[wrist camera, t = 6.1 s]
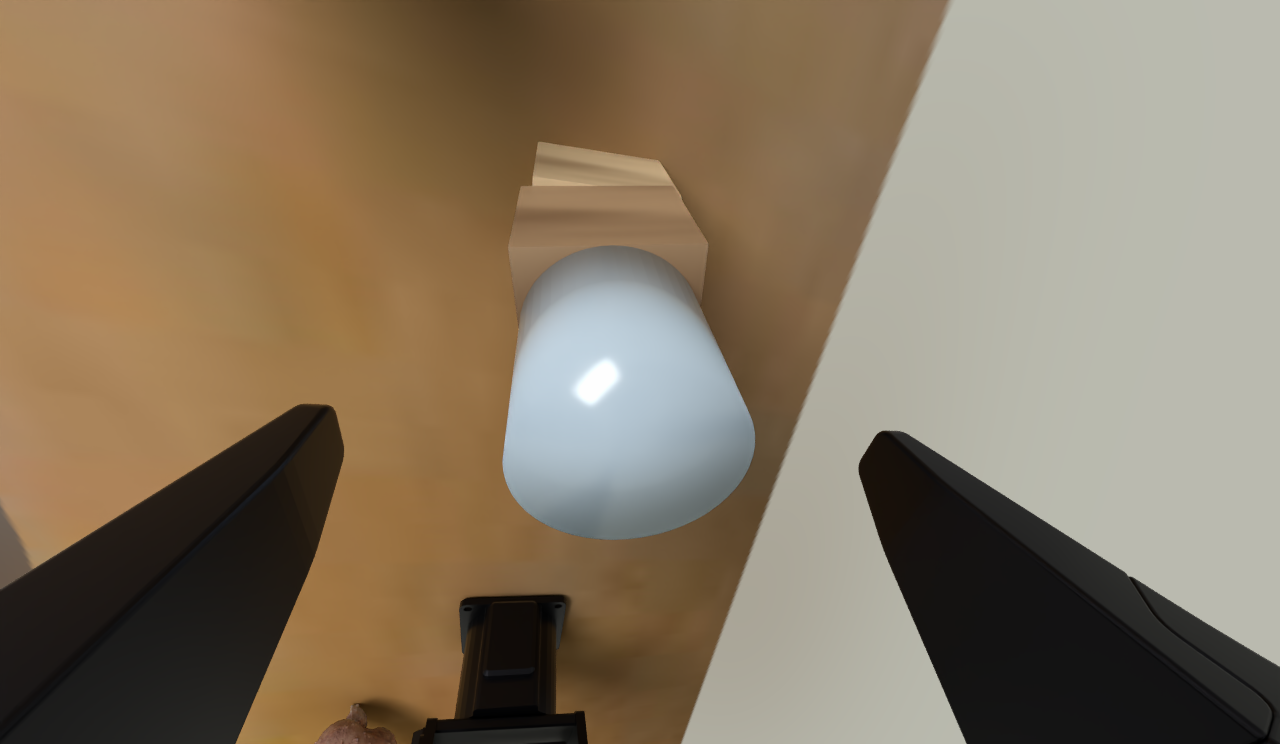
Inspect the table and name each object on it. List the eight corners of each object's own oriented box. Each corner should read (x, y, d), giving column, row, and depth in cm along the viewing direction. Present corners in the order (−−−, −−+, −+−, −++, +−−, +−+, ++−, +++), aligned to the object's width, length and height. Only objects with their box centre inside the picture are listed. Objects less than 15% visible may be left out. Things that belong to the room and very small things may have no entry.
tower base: (638, 269, 19) (654, 323, 16) (532, 257, 18) (526, 312, 15) (658, 160, 17) (682, 197, 13) (538, 141, 16) (532, 176, 13)
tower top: (663, 315, 16) (689, 395, 12) (535, 319, 15) (528, 404, 12) (673, 185, 13) (708, 243, 10) (520, 185, 13) (507, 246, 10)
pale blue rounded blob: (677, 403, 13) (717, 538, 9) (516, 395, 12) (500, 540, 9) (719, 256, 10) (790, 371, 7) (522, 233, 9) (504, 351, 6)
